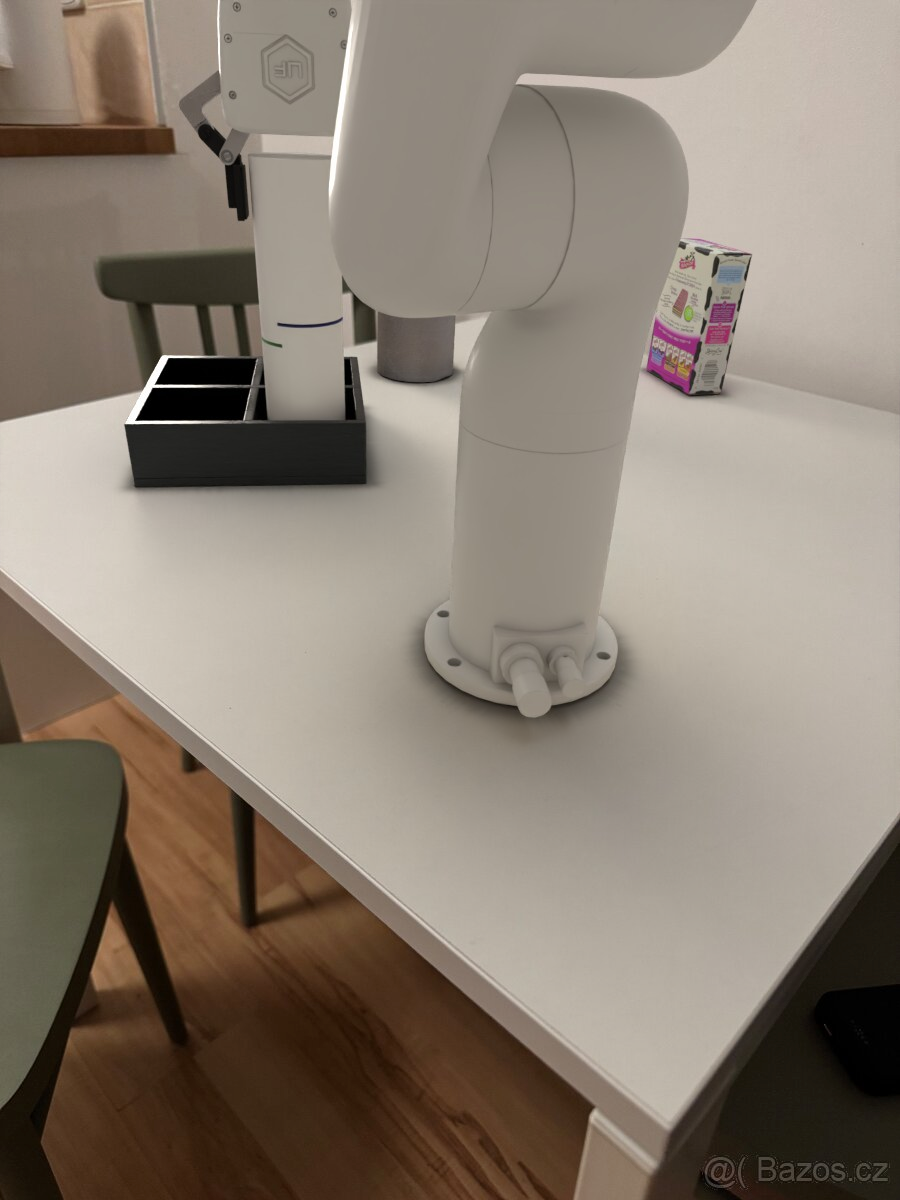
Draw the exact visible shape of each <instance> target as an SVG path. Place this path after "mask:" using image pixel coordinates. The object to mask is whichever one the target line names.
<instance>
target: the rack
mask: <svg viewBox="0 0 900 1200" xmlns="http://www.w3.org/2000/svg"><path fill="white" fill-rule="evenodd" d="M344 386H345V420H268V416H267V403H266V389H265V376H264V362H263V355H161V356H160V359H159V361H158V362H157V364H156V366H155V368H154V370H153V371H152V373H151V375H150V377H149V379H148V381H147V382H146V384H145V386H144V388H143V389H142V391H141V394H140V395H139V397H138V399H137V400H136V402H135V404H134V406H133V407H132V409H131V411H130V413H129V415H128V417H127V418H126V420H125V422H124V424H123V426H124V431H125V432H124V433H125V438H126V443H127V449H128V455H129V461H130V468H131V473H132V478H133V484H134V487H135V488H143V487H144V488H146V487H147V488H148V487H149V488H151V487H156V488H157V487H205V486H206V487H213V486H214V487H215V486H217V487H219V486H223V487H224V486H275V485H276V486H280V485H281V486H282V485H283V486H285V485H348V484H349V485H350V484H351V485H352V484H353V485H355V484H367V483H368V480H367V479H368V477H367V476H368V475H367V473H368V472H367V468H368V467H367V421H366V413H365V405H364V397H363V389H362V383H361V373H360V366H359V359H358V356H344Z"/></svg>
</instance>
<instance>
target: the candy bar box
mask: <svg viewBox="0 0 900 1200" xmlns="http://www.w3.org/2000/svg"><path fill="white" fill-rule="evenodd" d="M752 257H753V253H751V252H746V251H743V250H740V249H736V248H734V247H730V246H726V245H722V244H719V243H717V242H713V241H708V240H706V239H701V238H685V237H684V238H682V237H681V240H680V243H679V246H678V249H677V252H676V255H675V258H674V261H673V264H672V266H671V269H670V272H669V275H668V277H667V280H666V283H665V285H664V288H663V291H662V294H661V296H660V299H659V302H658V305H657V308H656V311H655V315H654V323H653V328H652V334H651V339H650V345H649V346H650V347H649V351H648V358H647V363H646V368H645V369H646V371H648V372H649V373H651V374H653V376H656V377H657V378H659V379H660V380H663V381H664V382H666V383H668V384H669V385H671V386H673V387H674V388H677V389H678V390H680V391H682V392H683V393H685V394H687V395H689V396H696V395H697V396H699V395H716V394H721V393H722V392H723V387H724V382H725V377H726V374H727V369H728V364H729V360H730V355H731V350H732V346H733V341H734V338H735V332H736V327H737V324H738V323H737V322H738V319H739V315H740V310H741V306H742V302H743V296H744V293H745V287H746V283H747V278H748V275H749V271H750V265H751V262H752Z"/></svg>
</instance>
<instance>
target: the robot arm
mask: <svg viewBox="0 0 900 1200" xmlns="http://www.w3.org/2000/svg"><path fill="white" fill-rule="evenodd" d="M757 1H758V0H352V1H351V0H217V39H218V40H217V44H218V70H217V71H215V72H214V73H213V74H211V75H210V76H209V77H208V78H206V79H205V80H204V81H202V82H201V83H200V84H198V85H197V86H196V87H194V88H193V89H192V90H191V91H189V92H188V93H187V94H186V95H184V96H183V97H181V99H180V100H179V103H178V108H179V110H180V111H181V113H182V114H183V115H184V117H185V119H186V120H187V121H188V123H189V124H190V126H191V127H192V128H193V130H194V131H195V132H196V134H197V136H198V138H199V139H200V140H201V141H202V143H204V144H205V145H206V146H207V148H209V150H211V152H213V154H214V155H216V157H217V158H218V159H219V160H220V162H221V163H222V164H223V165H224V172H225V183H226V195H227V205H228V209H236V218H237V222H245V221H246V220H248V218H249V216H250V208H249V207H250V206H249V195H248V194H249V193H248V180H247V170H246V169H247V168H246V164H244V162H243V160H242V159H243V157H242V154H241V152H242V151H243V149H244V147H245V144H246V143H247V140H249V137H250V135H251V134H253V135H255V134H256V135H271V136H272V135H275V136H297V137H298V136H300V137H331V138H332V137H333V141H332V142H333V143H332V152H331V155H332V157H331V166H330V179H329V225H330V234H331V241H332V246H333V250H334V254H335V258H336V261H337V264H338V267H339V269H340V272H341V274H342V279H343V280H344V282H345V283H346V285H347V287H348V288H349V289H350V290H351V292H352V293H353V294H354V295H355V296H356V297H357V298H358V300H360V301H361V302H362V303H363V304H365V305H366V306H368V307H369V308H371V309H372V310H374V311H377V313H378V312H381V313H384V314H387V315H390V316H395V317H403V318H431V317H443V316H453V315H456V316H462V315H472V314H482V313H489V315H488V316H487V318H486V320H485V323H484V324H483V326H482V328H481V330H480V332H479V334H478V336H477V338H476V340H475V342H474V345H473V347H472V349H471V351H470V354H469V356H468V359H467V363H466V365H465V369H464V372H463V377H462V381H461V389H460V396H459V397H460V398H459V414H458V429H457V430H458V431H457V433H458V434H457V452H456V453H457V454H456V469H455V470H456V472H455V475H456V476H455V489H454V490H455V491H454V511H453V533H452V550H451V551H452V552H451V574H450V591H449V599H447V600H446V601H444V602H442V603H441V604H439V605H438V606H437V607H436V608H435V609H434V610H433V611H432V612H431V614H430V615H429V617H428V619H427V621H426V623H425V628H424V637H423V639H424V651H425V654H426V657H427V661H428V662H429V663H430V665H431V666H432V668H433V669H434V670H435V672H436V673H438V674H439V676H440V677H442V678H443V679H444V680H445V681H446V682H448V683H449V684H451V685H452V686H454V687H455V688H457V689H459V690H460V691H462V692H464V693H467V694H469V695H471V696H473V697H475V698H478V699H481V700H485V701H489V702H492V703H495V704H501V705H506V706H507V705H508V706H513V707H517V708H518V710H519V712H520V714H521V715H523V716H525V717H526V718H533V719H535V718H539V717H542V716H544V715H545V714H546V713H549V711H550V710H551V708H552V706H556V705H557V706H558V705H562V704H566V703H571V702H573V701H574V702H575V701H577V700H579V699H582V698H585V697H587V696H589V695H591V694H592V693H594V692H596V691H597V690H599V689H600V688H602V686H604V684H606V683H607V681H608V680H609V679H610V678H611V676H612V675H613V672H614V670H615V668H616V664H617V658H618V653H619V646H618V639H617V637H616V634H615V631H614V630H613V629H612V627H611V625H610V624H609V623H608V621H607V620H606V619H605V618H604V617H603V616H601V615H600V610H601V604H602V597H603V591H604V586H605V579H606V572H607V566H608V561H609V560H608V559H609V555H610V554H609V553H610V548H611V542H612V536H613V530H614V524H615V518H616V511H617V505H618V499H619V493H620V487H621V482H622V481H621V480H622V475H623V474H622V473H623V469H624V468H623V467H624V462H625V456H626V450H627V443H628V437H629V434H630V428H631V424H632V418H633V417H632V416H633V411H634V405H635V399H636V394H637V388H638V384H639V383H638V382H639V378H640V373H641V368H642V363H643V358H644V354H645V349H646V345H647V341H648V338H649V335H650V331H651V327H652V323H653V320H654V318H655V315H656V311H657V305H658V302H659V299H660V296H661V294H662V291H663V288H664V285H665V283H666V280H667V277H668V275H669V272H670V269H671V266H672V264H673V261H674V258H675V255H676V252H677V249H678V246H679V243H680V240H681V238H682V235H683V231H684V227H685V224H686V219H687V213H688V207H689V194H690V182H689V181H690V180H689V170H688V165H687V164H688V163H687V160H686V156H685V152H684V149H683V147H682V144H681V142H680V140H679V138H678V137H677V134H676V132H675V130H674V129H673V128H672V127H671V125H670V123H668V121H667V120H666V119H665V118H664V117H663V116H662V115H661V114H660V113H659V112H657V111H656V110H655V109H653V108H652V107H651V106H650V105H648V104H647V103H645V102H643V101H641V100H640V99H637V98H635V97H632V96H631V95H630V96H629V95H626V94H624V93H620V92H618V91H613V90H608V89H607V90H606V89H601V88H596V87H595V88H594V87H586V86H585V87H584V86H568V85H547V84H546V85H544V84H524V83H517V82H518V80H519V78H520V77H521V76H522V75H527V74H529V75H530V74H531V75H556V76H571V77H572V76H574V77H591V78H606V79H630V80H631V79H634V80H637V79H638V80H639V79H640V80H641V79H642V80H643V79H662V78H672V77H679V76H683V75H686V74H690V73H693V72H695V71H697V70H698V71H699V70H700V69H702V68H704V67H706V66H707V65H709V64H711V63H712V62H713V61H714V60H715V59H716V58H717V57H719V55H721V54H722V53H723V52H724V51H725V50H726V49H727V48H728V47H729V46H730V45H731V43H732V42H733V41H734V39H735V38H736V36H737V35H738V33H739V32H741V29H742V28H743V26H744V24H745V23H746V21H747V20H748V17H749V16H750V14H751V12H752V11H753V9H754V7H755V5H756V3H757ZM219 95H220V101H221V109H222V115H223V118H224V121H225V123H226V124H227V125H228V126H229V127H230V128H231V130H230V132H229V133H228V135H227V137H225V136H224V135H223V134H221V133H220V131H219V130H218V129H216V127H215V126H214V125H213V124H212V122H211V121H210V120H209V119H208V116H207V115H206V113H205V107H206V105H208V104H209V103H210V102H212V101H213V100H214V99H216V98H217V97H218V96H219Z"/></svg>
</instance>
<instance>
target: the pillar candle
mask: <svg viewBox="0 0 900 1200" xmlns="http://www.w3.org/2000/svg"><path fill="white" fill-rule="evenodd" d="M376 317H377V321H376V324H377V325H376V326H377V327H376V328H377V330H376V336H377V337H376V360H377V361H376V370H377V372H378V373H379V375H381V376H382V377H385V378H388V379H391V380H395V381H400V382H407V383H427V382H429V383H431V382H437V381H440V380H442V379H444V378H446V377H451V375H453V373H454V359H455V337H456V320H457V319H456V318H457V315H453V316H443V317H431V318H403V317H395V316H390V315H387V314H384V313H381V312H378V311H377V315H376Z"/></svg>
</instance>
